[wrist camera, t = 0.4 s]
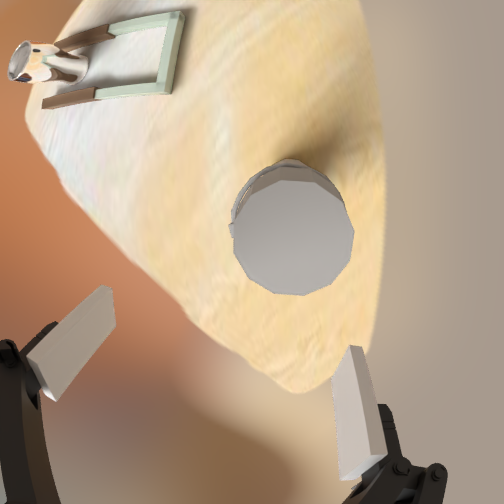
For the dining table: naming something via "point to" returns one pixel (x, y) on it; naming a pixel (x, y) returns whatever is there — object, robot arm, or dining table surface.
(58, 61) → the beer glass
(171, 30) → the pale green u-shaped frame
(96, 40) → the slot rails
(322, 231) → the water bottle
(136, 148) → the dining table surface
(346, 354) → the robot arm
